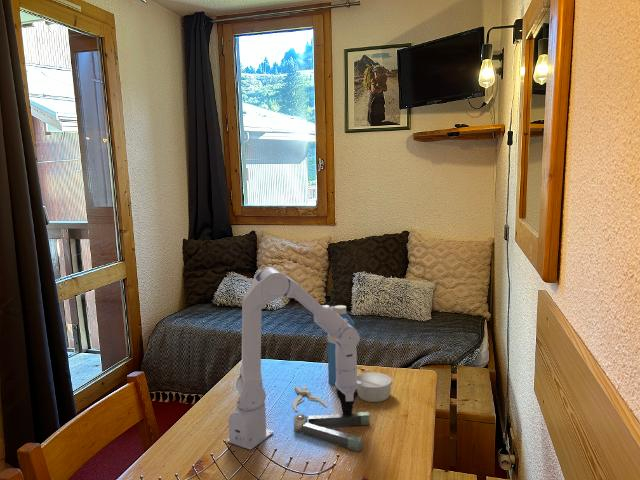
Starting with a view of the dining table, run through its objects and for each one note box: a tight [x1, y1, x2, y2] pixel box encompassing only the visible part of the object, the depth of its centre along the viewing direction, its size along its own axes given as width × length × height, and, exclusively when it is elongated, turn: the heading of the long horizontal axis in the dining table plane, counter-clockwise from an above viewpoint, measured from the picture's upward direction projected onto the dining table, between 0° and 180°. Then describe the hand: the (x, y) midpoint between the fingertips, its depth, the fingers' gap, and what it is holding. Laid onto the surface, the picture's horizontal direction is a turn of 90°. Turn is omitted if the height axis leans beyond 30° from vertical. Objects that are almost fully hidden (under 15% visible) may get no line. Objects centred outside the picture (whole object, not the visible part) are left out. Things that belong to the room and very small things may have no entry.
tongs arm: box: [307, 411, 371, 428], centre depth 128 cm, size 2×16×3 cm, turn 93°
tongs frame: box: [293, 413, 364, 453], centre depth 122 cm, size 4×20×4 cm, turn 58°
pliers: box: [292, 384, 328, 413], centre depth 145 cm, size 10×2×15 cm
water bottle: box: [326, 304, 355, 387], centre depth 156 cm, size 9×9×25 cm
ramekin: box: [356, 372, 393, 403], centre depth 146 cm, size 11×11×5 cm
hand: (347, 414), depth 131 cm, fingers closed
